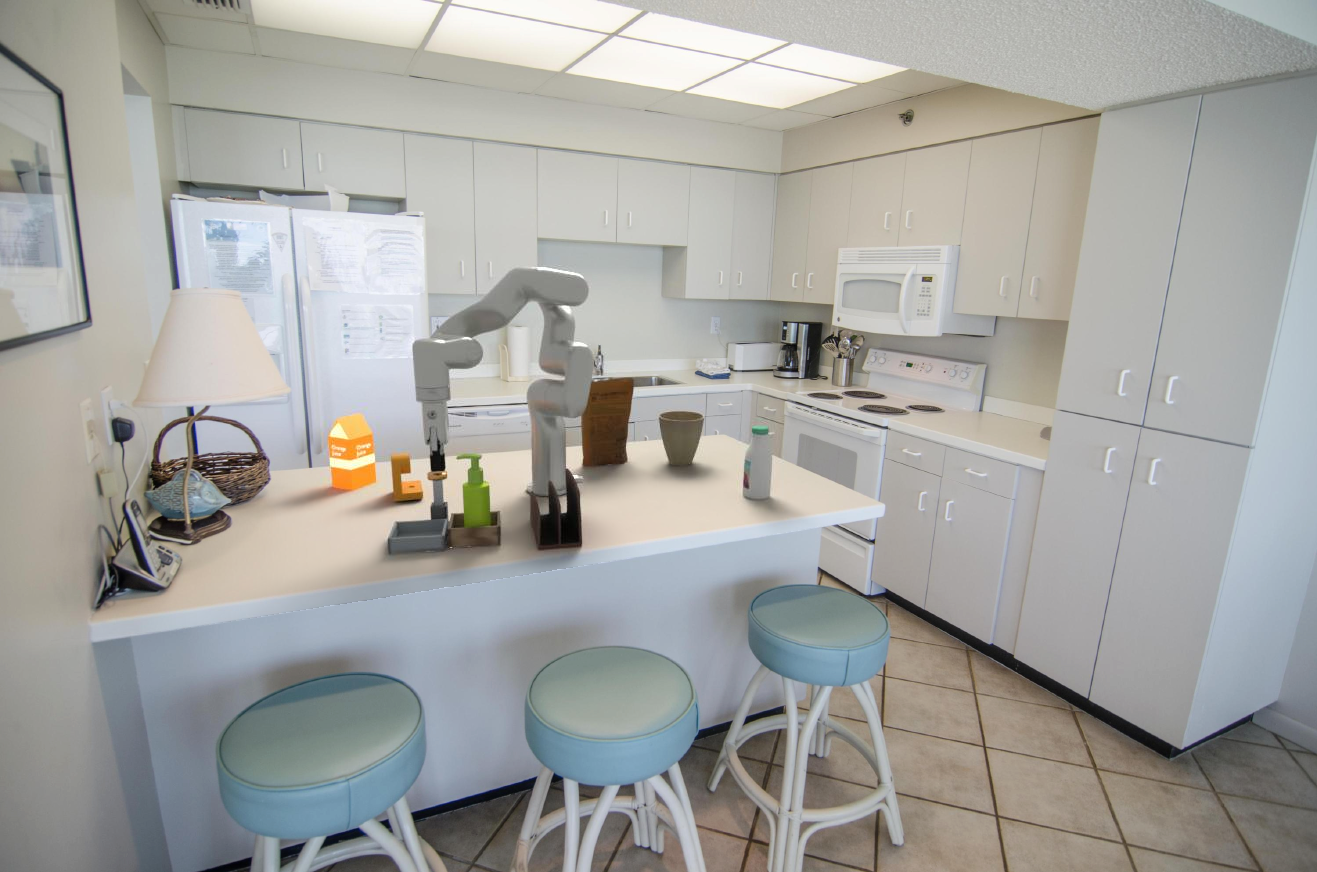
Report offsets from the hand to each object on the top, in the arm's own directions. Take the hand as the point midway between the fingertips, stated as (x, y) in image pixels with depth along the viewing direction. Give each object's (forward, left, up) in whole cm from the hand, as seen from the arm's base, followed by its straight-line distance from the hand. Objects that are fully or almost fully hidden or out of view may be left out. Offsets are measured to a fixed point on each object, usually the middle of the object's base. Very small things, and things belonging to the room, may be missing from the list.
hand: (438, 470), depth 158 cm
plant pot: (-71, -47, -15) cm, 87 cm away
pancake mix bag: (-47, -49, -15) cm, 70 cm away
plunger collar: (0, 0, -14) cm, 14 cm away
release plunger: (0, 0, -13) cm, 13 cm away
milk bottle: (-84, -11, -15) cm, 86 cm away
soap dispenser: (-8, +8, -15) cm, 18 cm away
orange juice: (+27, -38, -15) cm, 49 cm away
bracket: (+11, -25, -15) cm, 31 cm away
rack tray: (+4, +9, -14) cm, 17 cm away
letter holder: (-26, +7, -15) cm, 31 cm away
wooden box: (-8, +8, -14) cm, 18 cm away
